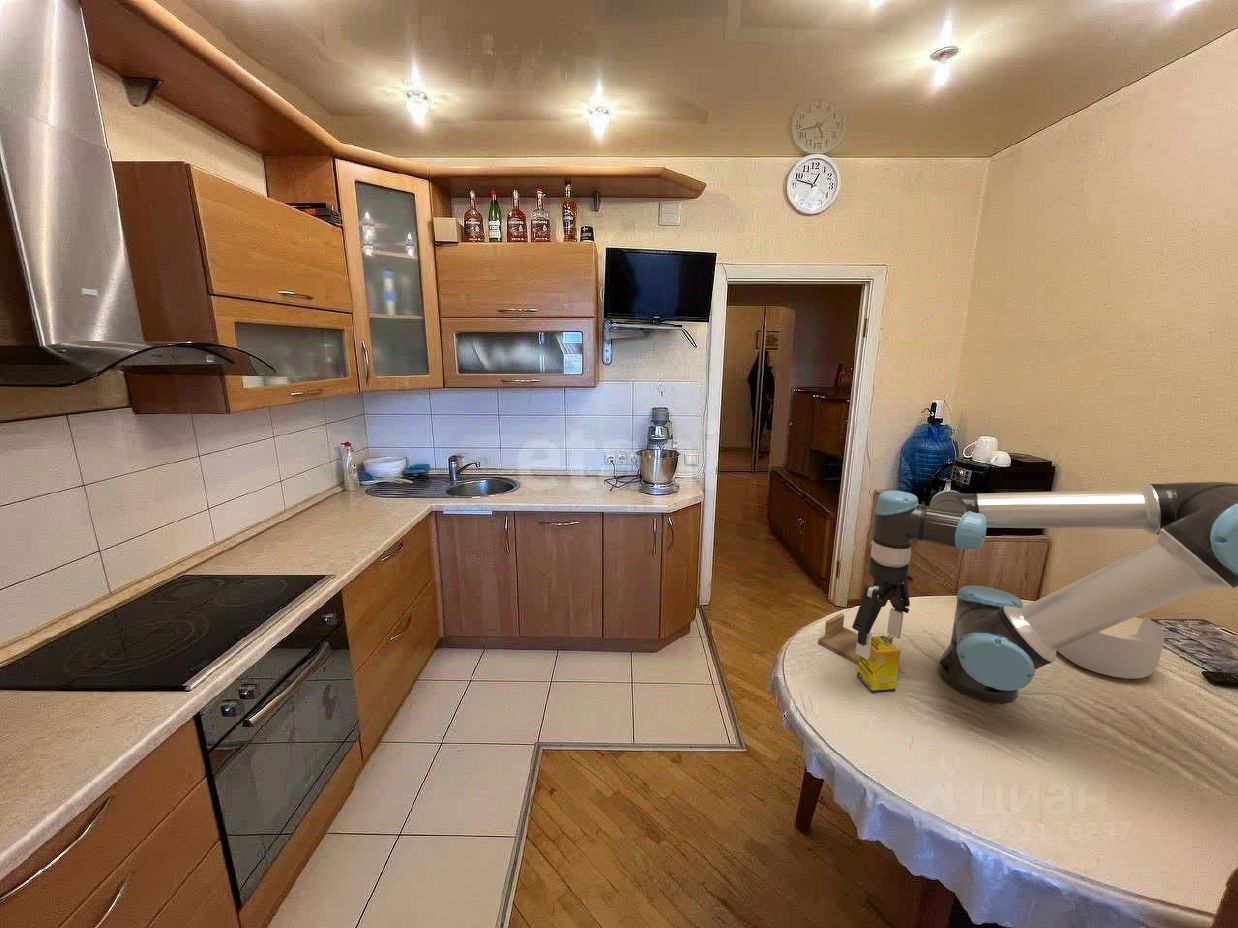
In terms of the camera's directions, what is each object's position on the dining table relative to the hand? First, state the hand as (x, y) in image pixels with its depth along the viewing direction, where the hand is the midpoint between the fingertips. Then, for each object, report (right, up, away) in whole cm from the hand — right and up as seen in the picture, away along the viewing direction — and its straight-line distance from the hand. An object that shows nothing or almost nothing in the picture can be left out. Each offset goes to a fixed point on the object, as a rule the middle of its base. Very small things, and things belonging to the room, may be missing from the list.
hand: (878, 645), depth 110 cm
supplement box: (+1, -10, +2) cm, 10 cm away
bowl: (+60, -7, +9) cm, 61 cm away
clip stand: (+2, -7, +15) cm, 17 cm away
